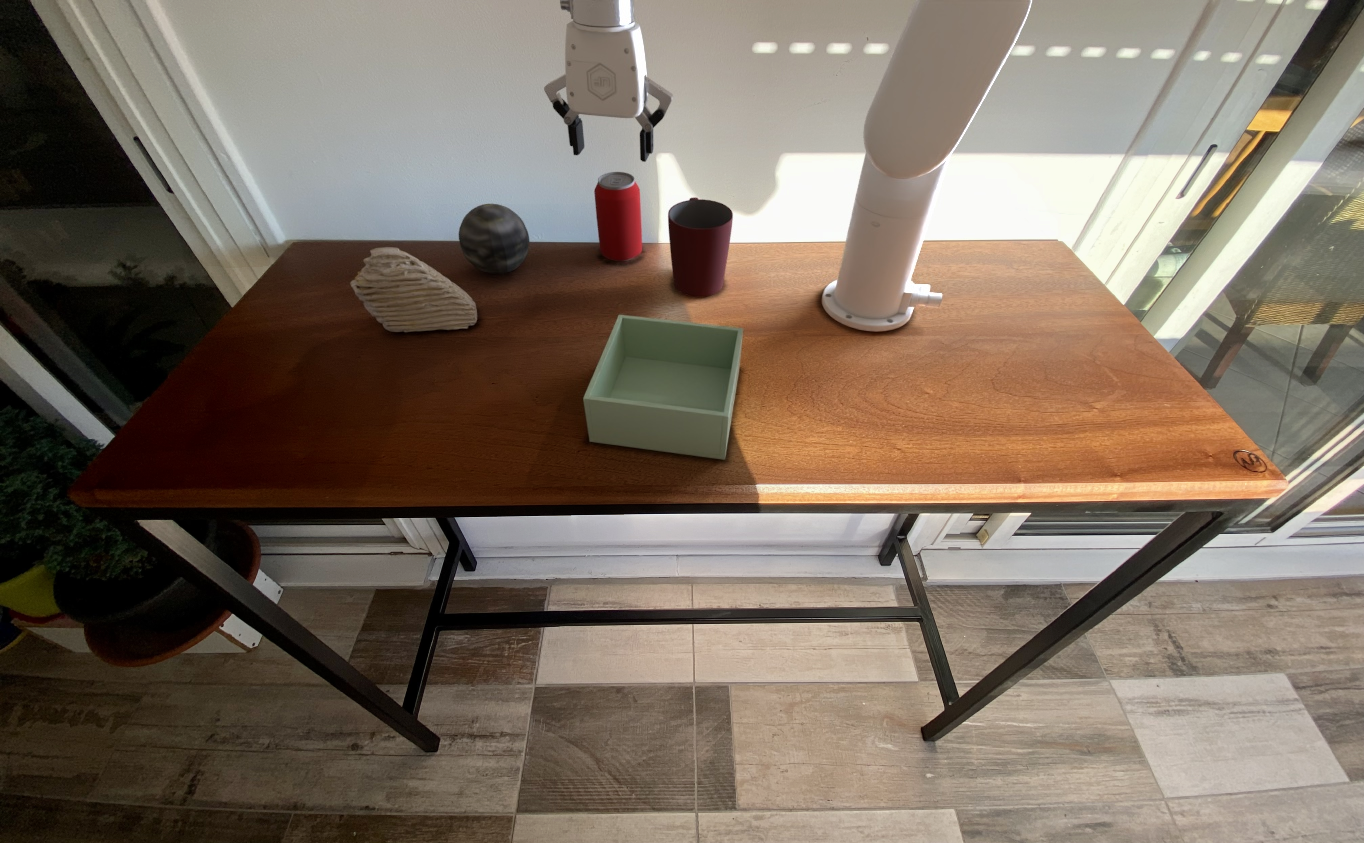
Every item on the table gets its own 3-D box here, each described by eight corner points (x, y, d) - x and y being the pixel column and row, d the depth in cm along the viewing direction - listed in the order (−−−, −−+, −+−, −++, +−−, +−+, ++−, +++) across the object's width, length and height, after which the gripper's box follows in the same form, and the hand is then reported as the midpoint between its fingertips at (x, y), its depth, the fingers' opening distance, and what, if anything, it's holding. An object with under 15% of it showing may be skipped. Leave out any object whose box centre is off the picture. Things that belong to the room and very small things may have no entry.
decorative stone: (524, 289, 88) (511, 225, 81) (458, 285, 88) (439, 221, 81) (541, 254, 95) (530, 193, 88) (480, 251, 96) (464, 190, 88)
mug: (663, 259, 94) (662, 191, 86) (719, 256, 95) (722, 188, 87) (672, 302, 86) (671, 231, 78) (732, 298, 87) (738, 227, 79)
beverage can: (645, 244, 97) (642, 170, 89) (639, 265, 93) (635, 190, 84) (604, 242, 98) (598, 168, 89) (596, 263, 93) (588, 188, 85)
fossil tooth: (476, 340, 81) (359, 337, 79) (482, 311, 85) (371, 308, 83) (462, 267, 73) (330, 262, 71) (469, 240, 77) (345, 234, 75)
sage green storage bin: (739, 370, 75) (743, 328, 70) (724, 459, 65) (728, 416, 60) (622, 356, 77) (618, 314, 72) (589, 441, 66) (582, 398, 62)
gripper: (524, 13, 71) (544, 159, 83) (667, 23, 69) (666, 171, 81) (545, 0, 76) (561, 139, 88) (678, 9, 74) (676, 150, 86)
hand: (612, 154), depth 84 cm, fingers open, 9 cm apart
